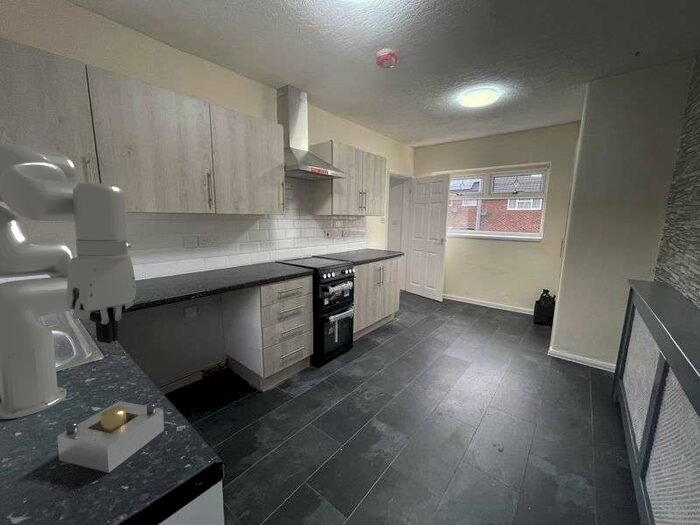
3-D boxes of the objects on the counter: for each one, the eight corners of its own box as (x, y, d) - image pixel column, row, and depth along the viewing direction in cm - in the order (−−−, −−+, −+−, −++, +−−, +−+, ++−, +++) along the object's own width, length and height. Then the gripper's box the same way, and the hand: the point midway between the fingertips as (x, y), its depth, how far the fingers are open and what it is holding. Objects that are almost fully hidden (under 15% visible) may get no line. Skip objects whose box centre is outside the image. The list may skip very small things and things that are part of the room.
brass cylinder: (98, 449, 59) (95, 416, 59) (117, 435, 63) (114, 405, 62) (114, 452, 58) (111, 419, 58) (132, 438, 62) (130, 407, 62)
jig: (59, 460, 56) (56, 427, 56) (120, 421, 68) (119, 394, 67) (108, 472, 54) (106, 439, 53) (164, 430, 65) (162, 402, 65)
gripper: (124, 246, 65) (128, 327, 67) (40, 250, 50) (48, 353, 52) (152, 248, 63) (155, 331, 65) (73, 253, 49) (80, 359, 51)
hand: (107, 340), depth 59 cm, fingers closed
